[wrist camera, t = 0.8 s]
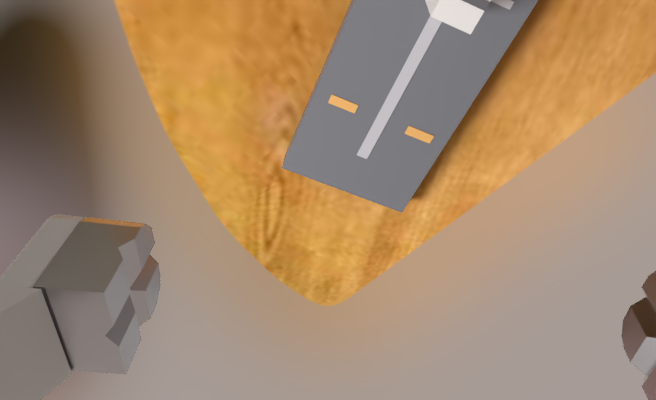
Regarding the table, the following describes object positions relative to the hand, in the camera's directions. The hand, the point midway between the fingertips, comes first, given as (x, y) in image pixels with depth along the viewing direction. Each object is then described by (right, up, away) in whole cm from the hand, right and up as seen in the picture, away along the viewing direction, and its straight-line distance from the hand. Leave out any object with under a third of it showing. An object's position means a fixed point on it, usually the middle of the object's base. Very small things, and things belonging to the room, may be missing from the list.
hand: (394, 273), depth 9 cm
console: (+5, +13, +34) cm, 36 cm away
